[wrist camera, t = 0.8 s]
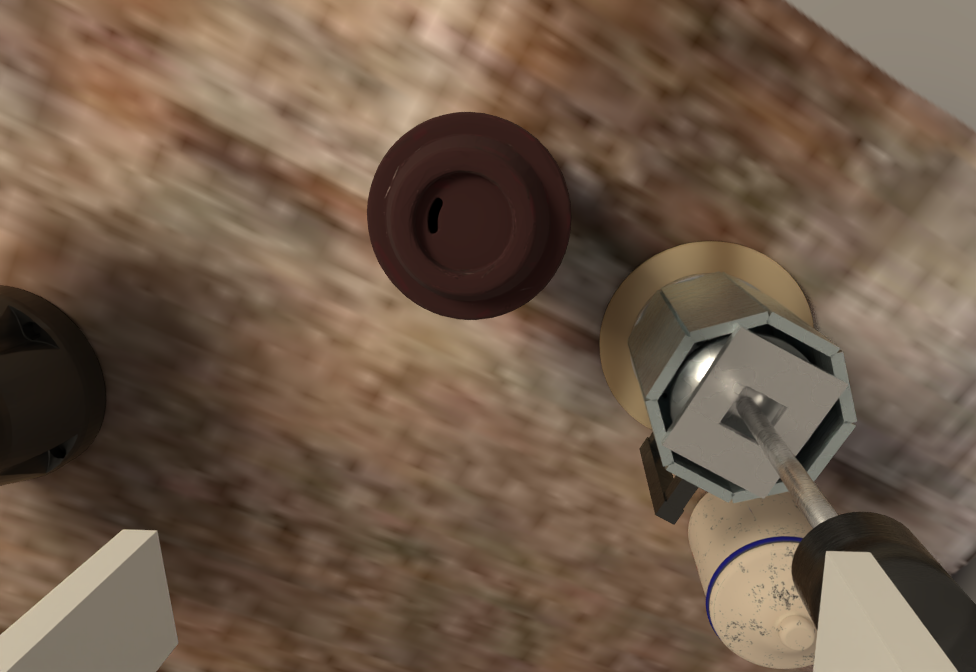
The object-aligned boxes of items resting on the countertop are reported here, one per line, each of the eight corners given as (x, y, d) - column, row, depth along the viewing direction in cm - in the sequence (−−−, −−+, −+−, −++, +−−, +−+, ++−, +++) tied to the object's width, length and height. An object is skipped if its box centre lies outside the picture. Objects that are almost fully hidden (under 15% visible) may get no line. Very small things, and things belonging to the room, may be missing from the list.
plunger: (642, 424, 37) (710, 680, 20) (718, 305, 35) (875, 471, 17) (763, 488, 38) (941, 799, 20) (847, 374, 35) (1132, 608, 18)
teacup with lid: (663, 554, 51) (689, 668, 40) (718, 453, 49) (763, 545, 38) (811, 614, 51) (879, 745, 40) (874, 516, 49) (966, 627, 38)
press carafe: (581, 406, 48) (586, 492, 36) (679, 245, 44) (720, 282, 33) (705, 472, 48) (750, 578, 37) (813, 317, 45) (902, 380, 33)
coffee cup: (601, 201, 45) (617, 228, 31) (493, 301, 48) (461, 369, 33) (497, 87, 44) (463, 59, 29) (392, 196, 46) (313, 220, 32)
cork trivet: (598, 436, 49) (598, 439, 49) (600, 242, 46) (601, 243, 45) (801, 439, 48) (804, 443, 47) (821, 238, 44) (824, 240, 43)
